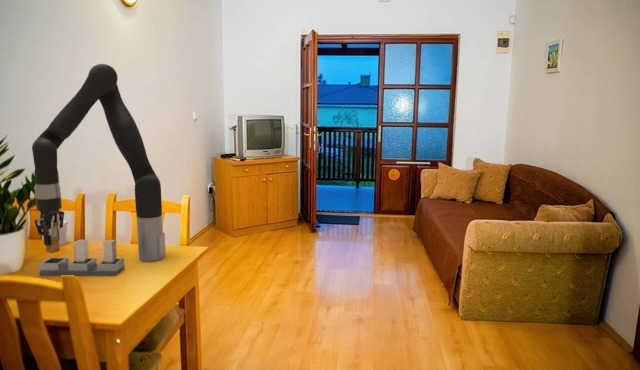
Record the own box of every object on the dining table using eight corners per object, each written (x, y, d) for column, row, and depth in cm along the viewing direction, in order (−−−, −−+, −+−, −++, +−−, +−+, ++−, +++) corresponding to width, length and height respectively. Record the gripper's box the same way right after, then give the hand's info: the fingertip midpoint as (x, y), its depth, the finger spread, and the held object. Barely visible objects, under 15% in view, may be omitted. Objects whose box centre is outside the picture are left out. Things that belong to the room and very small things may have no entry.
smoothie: (72, 242, 188) (70, 210, 185) (62, 246, 182) (60, 214, 179) (59, 241, 188) (56, 210, 186) (48, 245, 182) (45, 213, 180)
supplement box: (44, 252, 153) (42, 225, 151) (53, 249, 156) (51, 223, 154) (51, 254, 152) (49, 226, 150) (60, 251, 155) (58, 224, 153)
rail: (125, 267, 160) (123, 237, 158) (115, 276, 152) (113, 244, 150) (52, 267, 159) (49, 237, 157) (38, 275, 151) (35, 243, 149)
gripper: (47, 200, 143) (51, 250, 146) (70, 192, 157) (73, 237, 160) (24, 200, 143) (28, 249, 146) (49, 191, 157) (53, 237, 160)
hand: (52, 243), depth 153 cm, fingers closed on supplement box, 4 cm apart
